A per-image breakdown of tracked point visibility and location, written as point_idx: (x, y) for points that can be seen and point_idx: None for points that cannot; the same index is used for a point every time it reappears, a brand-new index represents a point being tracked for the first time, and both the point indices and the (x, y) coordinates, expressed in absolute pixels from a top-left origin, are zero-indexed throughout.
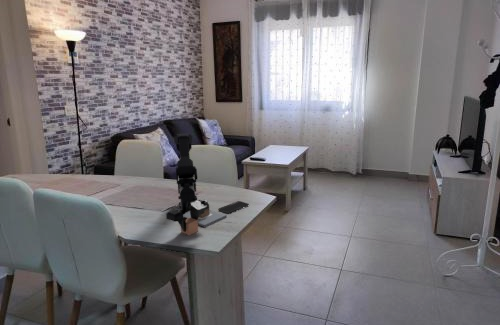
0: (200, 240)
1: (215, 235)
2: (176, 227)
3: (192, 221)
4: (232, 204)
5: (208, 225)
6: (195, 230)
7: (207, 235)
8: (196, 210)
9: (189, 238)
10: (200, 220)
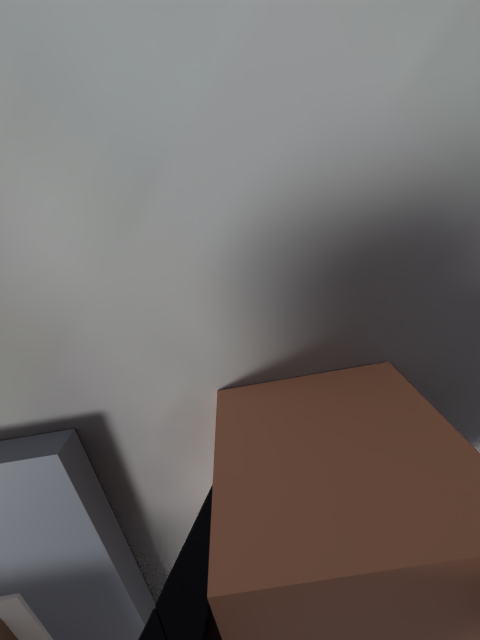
0: (422, 46)
1: (61, 5)
2: None
3: (371, 595)
4: None
5: (4, 440)
6: (270, 399)
7: (194, 146)
8: None
9: (464, 272)
10: (46, 583)
